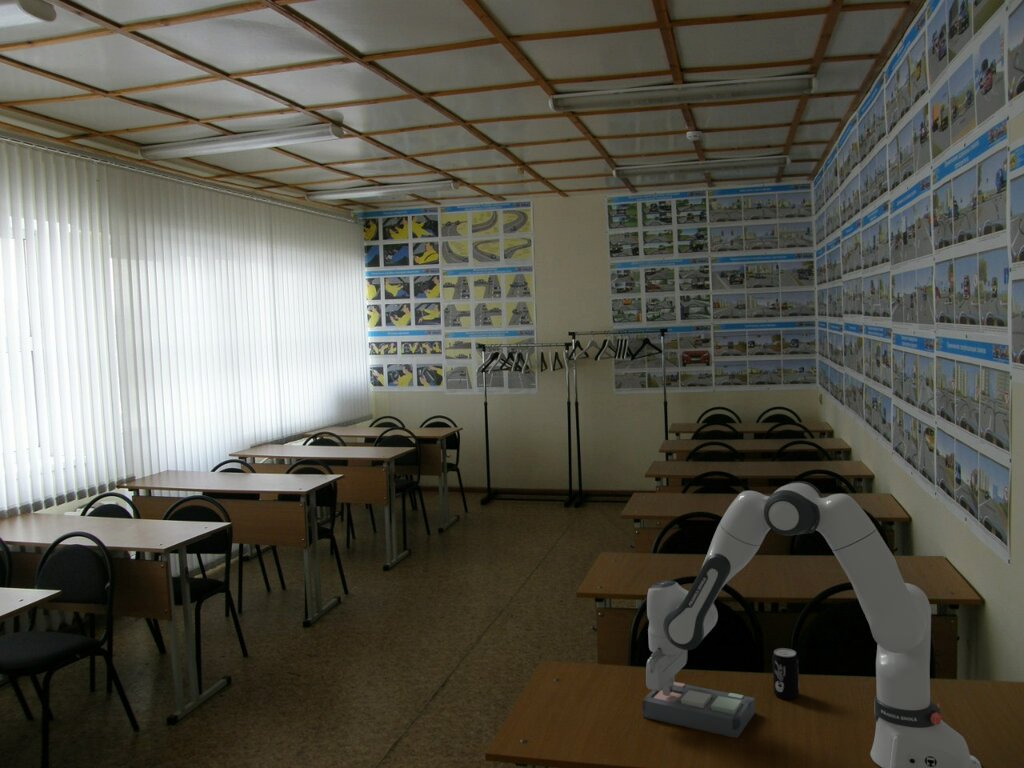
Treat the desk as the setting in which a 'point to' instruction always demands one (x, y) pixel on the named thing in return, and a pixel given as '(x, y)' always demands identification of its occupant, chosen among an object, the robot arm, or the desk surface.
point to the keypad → (700, 711)
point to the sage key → (726, 705)
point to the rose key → (671, 697)
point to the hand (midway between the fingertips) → (668, 693)
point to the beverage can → (785, 673)
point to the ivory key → (696, 699)
